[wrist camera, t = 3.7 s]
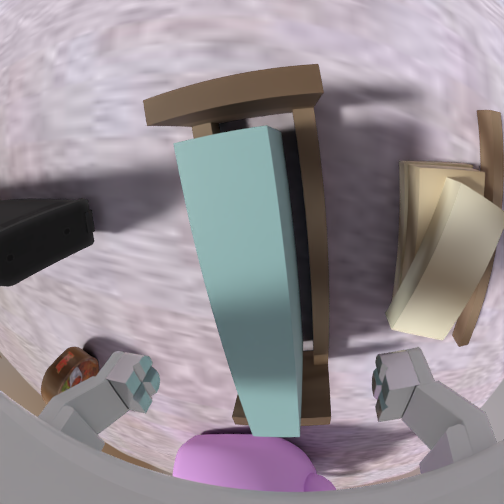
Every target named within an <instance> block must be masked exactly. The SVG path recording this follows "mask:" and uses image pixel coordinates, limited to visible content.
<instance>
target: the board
mask: <svg viewBox="0 0 504 504" xmlns="http://www.w3.org/2000/svg"><path fill="white" fill-rule="evenodd" d="M174 149H175V154H176V160H177V165H178V170H179V175H180V180H181V185H182V189H183V194H184V199H185V203H186V208H187V212H188V217H189V221H190V226H191V230H192V234H193V238H194V242H195V247H196V251H197V255H198V259H199V263H200V267H201V270H202V274H203V278H204V282H205V286H206V289H207V293H208V297H209V300H210V304H211V308H212V311H213V315H214V318H215V322H216V325H217V329H218V332H219V335H220V339H221V342H222V345H223V349H224V352H225V355H226V358H227V361H228V365H229V368H230V371H231V374H232V377H233V380H234V383H235V386H236V389H237V392H238V395H239V398H240V401H241V404H242V407H243V410H244V413H245V415H246V418H247V421H248V424H249V427H250V429H251V432H252V435H253V436H258V437H300V425H301V404H302V371H303V334H302V319H301V304H300V291H299V279H298V267H297V257H296V246H295V236H294V227H293V218H292V209H291V201H290V192H289V184H288V177H287V169H286V162H285V154H284V148H283V141H282V134H281V132H280V131H278V130H276V129H274V128H271V127H269V126H260V127H253V128H246V129H240V130H235V131H229V132H224V133H218V134H213V135H209V136H204V137H199V138H195V139H190V140H186V141H182V142H178V143H174Z"/></svg>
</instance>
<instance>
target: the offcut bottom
mask: <svg viewBox="0 0 504 504" xmlns="http://www.w3.org/2000/svg"><path fill="white" fill-rule="evenodd" d="M408 164H421V165H440V166H454V167H466V168H473V165H470V164H466V163H452V162H432V161H399V180H400V211H399V236H398V250H397V262H396V272H395V281H394V289H393V296H392V301H393V299H394V297H395V295H396V293H397V291H398V290H399V288H400V283H401V276H402V269H403V261H404V252H405V242H406V230H407V213H408Z"/></svg>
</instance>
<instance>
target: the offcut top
mask: <svg viewBox="0 0 504 504" xmlns="http://www.w3.org/2000/svg"><path fill="white" fill-rule="evenodd" d="M503 229H504V211H503V210H502V209H500V208H499V207H498V206H496V205H495V204H493V203H492V202H490V201H489V200H488V199H486V198H485V197H483V196H482V195H480V194H478V193H477V192H475V191H474V190H472V189H471V188H469V187H467V186H466V185H464V184H462V183H460V182H458V181H455V180H453V179H450V178H447V177H446V180H445V183H444V186H443V189H442V192H441V195H440V198H439V200H438V203H437V206H436V208H435V211H434V214H433V216H432V219H431V221H430V224H429V226H428V229H427V231H426V233H425V236H424V238H423V240H422V243H421V245H420V247H419V249H418V251H417V254H416V256H415V258H414V260H413V262H412V264H411V266H410V268H409V270H408V272H407V274H406V276H405V278H404V280H403V282H402V284H401V286H400V288H399V290H398V291H397V293H396V295H395V297H394V299H393V301H392V302H391V304H390V306H389V308H388V309H387V311H386V313H385V314H386V317H387V320H388V322H389V325H390V327H391V330H395V331H400V332H404V333H409V334H414V335H418V336H423V337H428V338H433V339H438V340H443V339H444V338H445V337H446V335H447V334H448V332H449V331H450V329H451V328H452V326H453V325H454V323H455V322H456V320H457V319H458V317H459V316H460V314H461V312H462V311H463V309H464V308H465V306H466V304H467V303H468V301H469V299H470V298H471V296H472V294H473V292H474V290H475V289H476V287H477V285H478V283H479V281H480V279H481V277H482V276H483V274H484V272H485V270H486V268H487V266H488V263H489V261H490V259H491V257H492V255H493V253H494V251H495V248H496V246H497V244H498V241H499V239H500V236H501V234H502V231H503Z"/></svg>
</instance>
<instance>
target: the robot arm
mask: <svg viewBox="0 0 504 504" xmlns="http://www.w3.org/2000/svg"><path fill="white" fill-rule="evenodd" d="M375 363H376V367H377V368H376V369H375V370H374V371H373V376H372V391H373V396H374V397H375V398H376V399H377V403H376V406H375V407H376V413H377V418H378V422H381V421H388V420H394V419H400V418H402V421H403V422H404V423H405V424H406V425H407V426H408V427H409V428H410V429H411V430H412V431H413V432H414V433H415V434H416V435H417V436H418V437H419V438H420V439H421V440H422V441H423V442H424V443H425V444H426V445H427V447H428V448H429V449H430V450H431V451H430V452H429V453H428V454H427V455H426V456H425V458H424V459H423V460H422V461H421V462H420V464H419V465H420V471H421V474H419V475H415V476H412V477H408V478H404V479H400V480H396V481H391V482H386V483H382V484H376V485H371V486H365V487H357V488H350V489H341V490H330V491H313V492H275V491H257V490H246V489H237V488H229V487H222V486H216V485H210V484H205V483H199V482H195V481H190V480H186V479H181V478H177V477H173V476H169V475H166V474H162V473H159V472H155V471H152V470H149V469H146V468H143V467H140V466H137V465H134V464H131V463H129V462H126V461H123V460H121V459H118V458H115V457H113V456H111V455H108V454H106V453H104V452H101V450H102V448H103V446H104V441H103V440H102V439H101V438H100V437H99V436H98V434H99V433H100V432H102V431H103V430H104V429H106V428H107V427H108V426H110V425H111V424H112V423H113V422H115V421H116V420H117V419H119V418H120V417H121V416H123V415H124V414H125V413H126V412H128V411H129V410H133V411H137V412H142V413H146V412H147V410H148V408H149V406H150V404H151V403H152V398H151V396H152V395H154V394H155V393H157V391H158V389H159V385H160V378H159V374H158V372H157V371H156V370H155V369H154V368H153V367H152V361H151V359H150V357H149V356H145V355H139V354H133V353H127V352H120V351H116V352H114V353H113V354H112V355H111V357H110V358H109V359H108V361H107V362H106V363H105V365H104V366H103V367H102V369H101V370H100V371H99V373H98V374H97V375H96V377H95V376H92V377H90V378H88V379H87V380H85V381H83V382H81V383H79V384H77V385H75V386H73V387H72V388H70V389H68V390H66V391H64V392H62V393H60V394H58V395H56V396H54V397H52V399H51V400H50V401H49V403H48V404H47V405H46V407H45V408H44V410H43V411H42V412H41V414H40V415H39V417H37V416H35V415H33V414H32V413H31V412H29V411H27V410H26V409H25V408H23V407H22V406H21V405H19V404H18V403H16V402H15V401H14V400H12V399H11V398H10V397H8V396H7V395H6V394H5V393H3V392H2V391H1V390H0V504H504V440H502V441H500V442H498V443H497V441H496V438H495V436H494V433H493V430H492V427H491V425H490V422H489V419H488V417H487V414H486V412H484V411H483V410H481V409H480V408H478V407H477V406H475V405H474V404H472V403H471V402H470V401H468V400H467V399H465V398H464V397H462V396H461V395H459V394H458V393H456V392H455V391H453V390H452V389H450V388H449V387H447V386H446V385H444V384H443V383H441V382H440V381H435V380H434V378H433V375H432V373H431V370H430V368H429V366H428V363H427V361H426V359H425V357H424V354H423V352H422V350H421V349H420V348H419V347H417V348H412V349H407V350H401V351H395V352H389V353H383V354H378V355H377V357H376V362H375ZM128 409H129V410H128Z"/></svg>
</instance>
